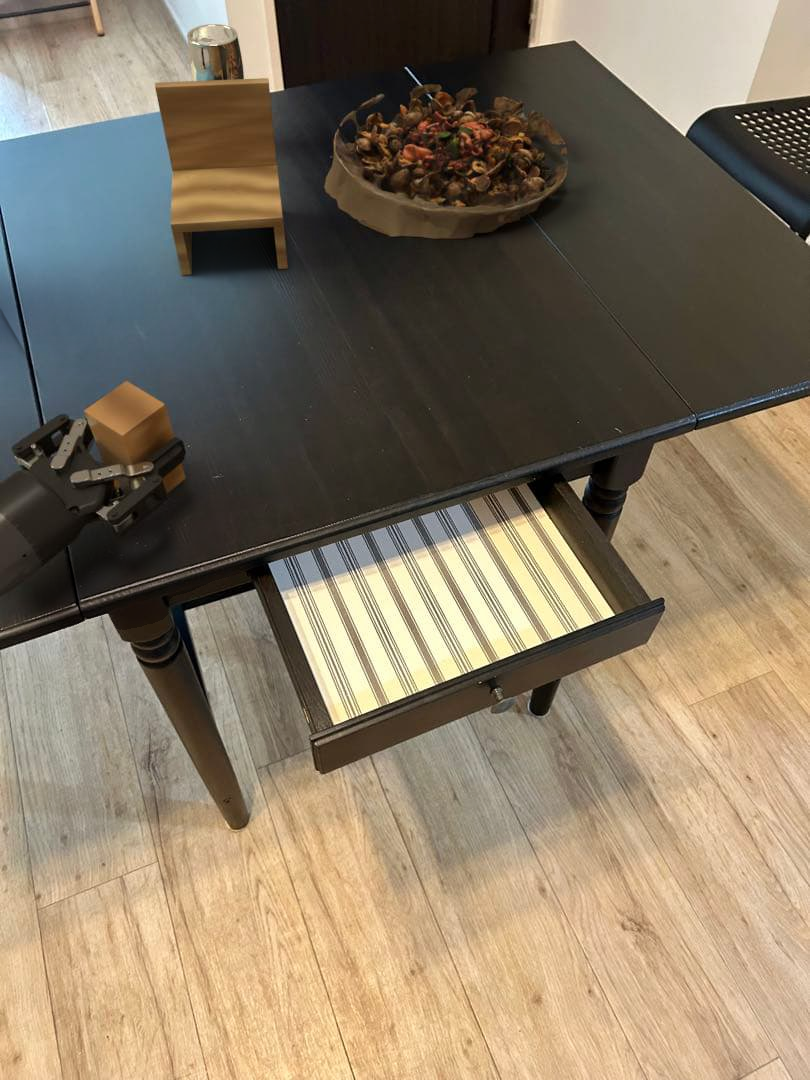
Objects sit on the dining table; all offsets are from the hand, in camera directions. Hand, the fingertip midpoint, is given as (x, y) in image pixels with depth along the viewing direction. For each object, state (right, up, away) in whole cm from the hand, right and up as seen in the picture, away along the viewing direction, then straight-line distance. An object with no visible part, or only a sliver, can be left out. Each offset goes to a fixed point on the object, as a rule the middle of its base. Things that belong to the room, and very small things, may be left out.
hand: (151, 426), depth 77 cm
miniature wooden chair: (+2, +28, +29) cm, 40 cm away
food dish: (+29, +42, +40) cm, 65 cm away
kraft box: (-1, -5, +4) cm, 6 cm away
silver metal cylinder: (-2, +47, +43) cm, 63 cm away
